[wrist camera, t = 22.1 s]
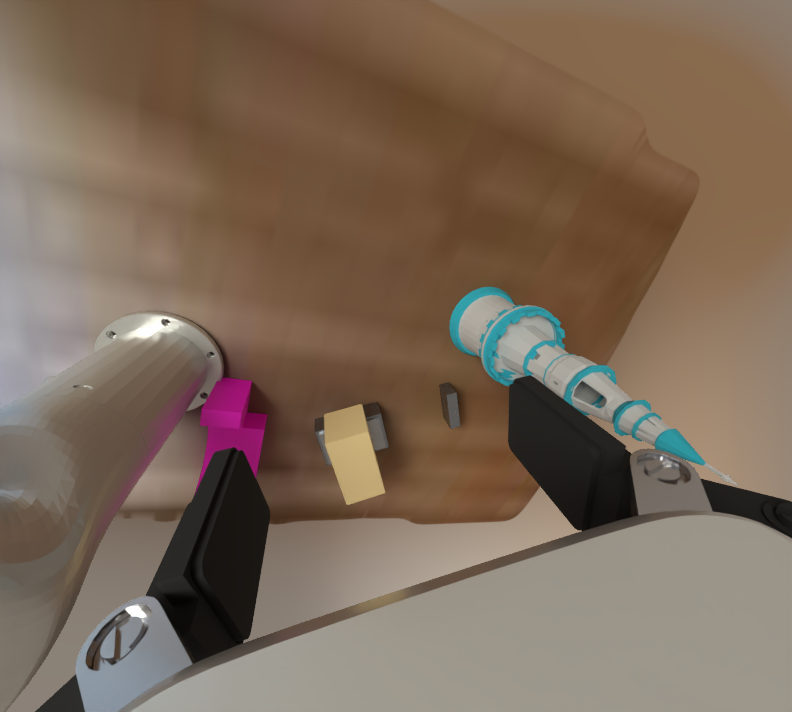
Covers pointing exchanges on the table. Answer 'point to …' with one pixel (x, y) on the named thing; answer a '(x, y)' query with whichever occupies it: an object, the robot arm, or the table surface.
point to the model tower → (555, 367)
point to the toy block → (232, 422)
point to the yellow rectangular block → (352, 454)
